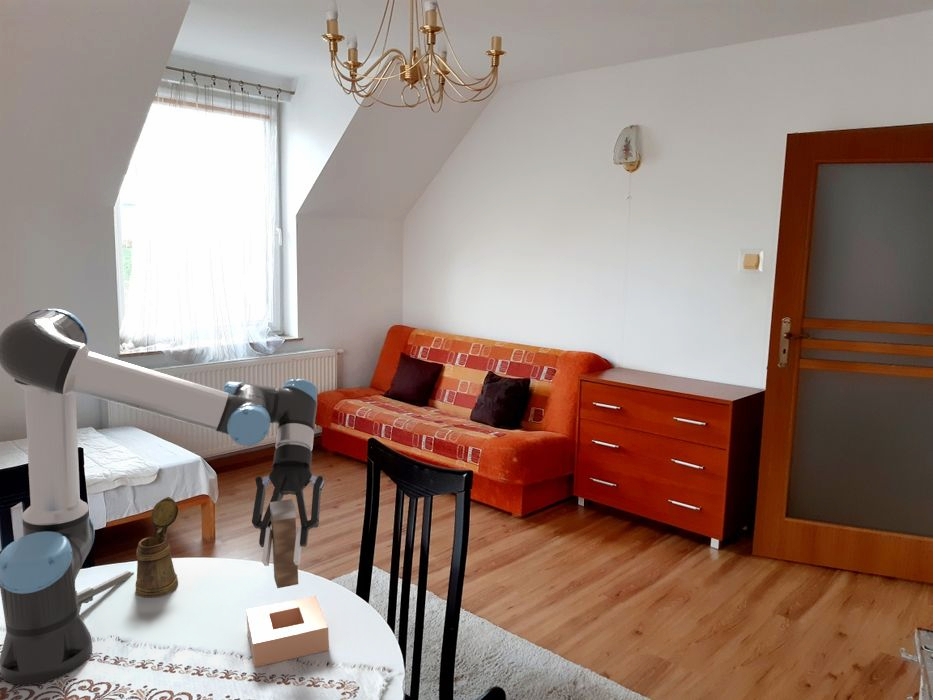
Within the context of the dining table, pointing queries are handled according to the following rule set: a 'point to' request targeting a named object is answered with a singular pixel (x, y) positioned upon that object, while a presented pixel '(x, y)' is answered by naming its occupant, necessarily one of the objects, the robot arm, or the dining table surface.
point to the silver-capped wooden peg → (284, 542)
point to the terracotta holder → (287, 630)
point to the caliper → (99, 589)
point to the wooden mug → (157, 554)
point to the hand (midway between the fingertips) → (281, 563)
